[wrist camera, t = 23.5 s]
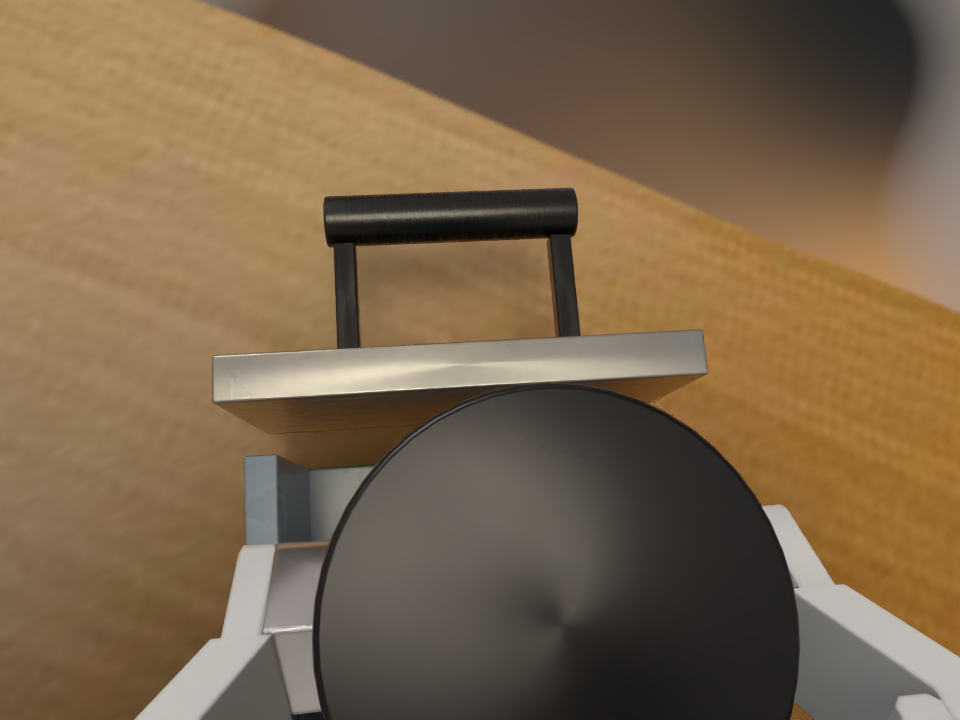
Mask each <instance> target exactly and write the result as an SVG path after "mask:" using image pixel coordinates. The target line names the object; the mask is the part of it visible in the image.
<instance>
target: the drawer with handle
mask: <svg viewBox="0 0 960 720" xmlns="http://www.w3.org/2000/svg"><path fill="white" fill-rule="evenodd" d="M323 211H324V228H325V236H326V241H327V245H328V247H334V269H335V296H336V324H337V349H322V350H304V351H285V352H266V353H248V354H229V355H215V356H213V358H212V401H213V403H214V404H216V405H218V406H220V407H221V408H223V409H225V410H227V411H228V412H230V413H232V414H234V415H235V416H237V417H239V418H241V419H242V420H244V421H246V422H248V423H249V424H251V425H253V426H255V427H257V428H258V429H260V430H262V431H264V432H265V433H267V434H275V433H291V432H307V431H323V430H339V429H355V428H371V427H387V426H403V425H418V424H422V423H424V422H425V421H427V420H428V419H430V418H431V417H433V416H434V415H436V414H438V413H440V412H442V411H444V410H446V409H448V408H450V407H451V406H453V405H455V404H457V403H459V402H461V401H464V400H467V399H470V398H472V397H475V396H478V395H481V394H484V393H486V392H489V391H493V390H498V389H503V388H507V387H512V386H517V385H525V384H537V383H570V384H582V385H587V386H593V387H599V388H604V389H609V390H612V391H615V392H619V393H622V394H625V395H628V396H631V397H634V398H637V399H640V400H642V401H644V402H646V403H648V404H649V403H651V402H653V401H655V400H657V399H659V398H661V397H663V396H665V395H667V394H669V393H671V392H673V391H675V390H677V389H679V388H681V387H683V386H685V385H687V384H689V383H690V382H692V381H694V380H696V379H698V378H700V377H702V376H704V375H706V374H708V366H707V359H706V351H705V344H704V336H703V331H702V330H700V329H696V330H677V331H659V332H640V333H621V334H603V335H584V336H581V335H580V325H579V315H578V305H577V296H576V286H575V276H574V266H573V256H572V246H571V237H573V236H574V235H575V233H576V230H577V224H578V203H577V197H576V193H575V191H574V189H573V188H549V189H521V190H493V191H465V192H437V193H409V194H381V195H353V196H327V197H325V198H324V205H323ZM544 238H548V240H547V249H548V260H549V270H550V281H551V291H552V302H553V312H554V323H555V333H556V337H547V338H528V339H509V340H491V341H472V342H453V343H435V344H416V345H397V346H379V347H361V331H360V308H359V285H358V261H357V248H356V246H376V245H400V244H424V243H448V242H472V241H496V240H520V239H544ZM374 467H375V465H364V466H349V467H334V468H319V469H306V468H304V467H302V466H300V465H298V464H295V463H293V462H291V461H289V460H287V459H284V458H282V457H280V456H278V455H260V456H247V457H245V459H244V469H245V545H262V544H278V543H288V542H307V541H326V540H331V537H332V534H333V532H334V530H335V528H336V526H337V524H338V522H339V520H340V518H341V516H342V514H343V512H344V510H345V508H346V506H347V504H348V502H349V501H350V499H351V498H352V496H353V495H354V493H355V492H356V490H357V489H358V487H359V486H360V484H361V483H362V481H363V480H364V478H365V477H366V476H367V475H368V474H369V472H370V471H371V470H372V469H373V468H374ZM291 717H292V720H324V717H323V714H322V711H321V712H313V713H305V714H296V715H291Z"/></svg>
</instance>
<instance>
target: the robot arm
mask: <svg viewBox="0 0 960 720" xmlns="http://www.w3.org/2000/svg"><path fill="white" fill-rule="evenodd" d="M762 508H763V509H764V511H765V513H766V515H767V516H768V518H769V520H770V522H771V524H772V526H773V528H774V531H775V533H776V535H777V538H778V540H779V542H780V545H781V547H782V549H783V552H784V555H785V558H786V561H787V565H788V568H789V572H790V575H791V578H792V582H793V586H794V592H795V598H796V604H797V610H798V616H799V637H800V657H799V671H798V683H797V688H796V693H795V698H794V702H795V703H796V704H797V705H799V706H800V707H801V708H802V709H803V710H804V711H805V712H806V713H807V714H808V715H809V716H810V717H811V718H813V719H814V720H960V657H958V656H957V655H955V654H954V653H952V652H951V651H949V650H947V649H946V648H944V647H943V646H941V645H940V644H938V643H936V642H935V641H933V640H932V639H930V638H929V637H927V636H925V635H924V634H922V633H921V632H919V631H918V630H916V629H914V628H913V627H911V626H910V625H908V624H906V623H905V622H903V621H902V620H900V619H899V618H897V617H895V616H894V615H892V614H891V613H889V612H888V611H886V610H884V609H883V608H881V607H880V606H878V605H877V604H875V603H873V602H872V601H870V600H869V599H867V598H866V597H864V596H862V595H861V594H859V593H858V592H856V591H855V590H853V589H851V588H850V587H848V586H847V585H845V584H841V585H835V583H834V582H833V580H832V579H831V577H830V576H829V574H828V572H827V571H826V569H825V568H824V566H823V565H822V563H821V561H820V560H819V558H818V557H817V555H816V553H815V552H814V550H813V549H812V547H811V546H810V544H809V542H808V541H807V539H806V538H805V536H804V534H803V533H802V531H801V530H800V528H799V527H798V525H797V523H796V522H795V520H794V519H793V517H792V516H791V514H790V512H789V511H788V509H787V508H785V507H784V506H783V505H769V506H762ZM329 542H330V540H326V541H307V542H288V543H278V544H262V545H243V547H242V549H241V551H240V553H239V554H238V559H237V564H236V568H235V573H234V578H233V583H232V587H231V592H230V597H229V601H228V606H227V611H226V615H225V620H224V625H223V629H222V634H221V638H217V639H210V640H209V641H208V642H207V643H206V644H205V645H204V646H203V647H202V648H201V650H200V651H199V652H198V653H197V654H196V655H195V656H194V657H193V658H192V659H191V660H190V661H189V662H188V663H187V664H186V665H185V666H184V667H183V669H182V670H181V671H180V672H179V673H178V674H177V675H176V676H175V677H174V678H173V679H172V680H171V681H170V682H169V683H168V684H167V685H166V687H165V688H164V689H163V690H162V691H161V692H160V693H159V694H158V695H157V696H156V697H155V698H154V699H153V700H152V701H151V702H150V703H149V704H148V706H147V707H146V708H145V709H144V710H143V711H142V712H141V713H140V714H139V715H138V716H137V717H136V718H135V719H134V720H292V717H291V715H296V714H305V713H313V712H321V708H320V704H319V699H318V693H317V688H316V682H315V676H314V671H313V653H312V623H313V610H314V599H315V594H316V590H317V585H318V580H319V575H320V570H321V566H322V563H323V560H324V557H325V554H326V551H327V548H328V545H329Z"/></svg>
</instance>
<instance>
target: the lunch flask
mask: <svg viewBox="0 0 960 720" xmlns="http://www.w3.org/2000/svg"><path fill="white" fill-rule="evenodd" d="M312 653H313V671H314V676H315V682H316V688H317V693H318V699H319V704H320V708H321V711H322V714H323V717H324V720H790V717H791V713H792V708H793V703H794V698H795V693H796V688H797V683H798V671H799V657H800V637H799V616H798V610H797V604H796V598H795V592H794V586H793V582H792V578H791V575H790V572H789V568H788V565H787V561H786V558H785V555H784V552H783V549H782V547H781V545H780V542H779V540H778V538H777V535H776V533H775V531H774V528H773V526H772V524H771V522H770V520H769V518H768V516H767V515H766V513H765V511H764V509H763V508H762V506H761V504H760V503H759V501H758V499H757V497H756V496H755V494H754V493H753V491H752V490H751V489H750V487H749V486H748V485H747V483H746V482H745V481H744V479H743V478H742V477H741V475H740V474H739V473H738V471H737V470H736V469H735V468H734V467H733V466H732V465H731V464H730V463H729V462H728V460H727V459H726V458H725V457H724V456H723V455H722V454H721V453H720V452H719V451H718V450H717V449H716V448H715V447H714V446H713V445H712V444H710V443H709V442H708V441H707V440H705V439H704V438H703V437H702V436H700V435H699V434H698V433H697V432H696V431H694V430H693V429H692V428H691V427H689V426H688V425H686V424H684V423H683V422H681V421H680V420H678V419H676V418H675V417H673V416H672V415H670V414H668V413H667V412H665V411H663V410H661V409H659V408H657V407H655V406H653V405H650V404H648V403H646V402H644V401H642V400H640V399H637V398H634V397H631V396H628V395H625V394H622V393H619V392H615V391H612V390H609V389H604V388H599V387H593V386H587V385H582V384H570V383H537V384H525V385H517V386H512V387H507V388H503V389H498V390H493V391H489V392H486V393H484V394H481V395H478V396H475V397H472V398H470V399H467V400H464V401H461V402H459V403H457V404H455V405H453V406H451V407H450V408H448V409H446V410H444V411H442V412H440V413H438V414H436V415H434V416H433V417H431V418H430V419H428V420H427V421H425V422H424V423H422V424H421V425H419V426H418V427H417V428H415V429H414V430H412V431H411V432H409V433H408V434H407V435H406V436H405V437H404V438H402V439H401V440H400V441H399V442H398V443H397V444H396V445H395V446H394V447H393V448H391V449H390V450H389V451H388V452H387V453H386V454H385V455H384V456H383V457H382V458H381V460H380V461H379V462H378V463H377V464H376V465H375V467H374V468H373V469H372V470H371V471H370V472H369V474H368V475H367V476H366V477H365V478H364V480H363V481H362V483H361V484H360V486H359V487H358V489H357V490H356V492H355V493H354V495H353V496H352V498H351V499H350V501H349V502H348V504H347V506H346V508H345V510H344V512H343V514H342V516H341V518H340V520H339V522H338V524H337V526H336V528H335V530H334V532H333V534H332V537H331V540H330V542H329V545H328V548H327V551H326V554H325V557H324V560H323V563H322V566H321V570H320V575H319V580H318V585H317V590H316V594H315V599H314V610H313V623H312Z"/></svg>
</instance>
